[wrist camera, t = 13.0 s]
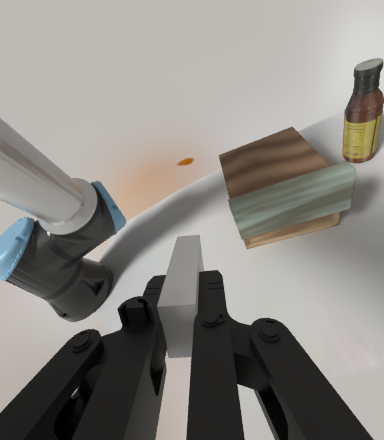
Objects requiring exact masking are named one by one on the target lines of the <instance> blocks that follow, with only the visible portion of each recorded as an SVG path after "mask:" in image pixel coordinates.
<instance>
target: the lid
mask: <svg viewBox="0 0 384 440" xmlns="http://www.w3.org/2000/svg"><path fill="white" fill-rule="evenodd" d="M219 159H220V162H221V166H222V170H223V174H224V178H225V182H226V186H227V190H228V194H229V198H230V199H229V200H228V201H229V205H230V209H231V212H232V214H233V217H234V220H235V222H236V225H237V227H238V230H239V233H240V235H241V238H242V239H244V238H248V237H252V236H255V235H259V234H262V233H266V232H270V231H273V230H277V229H280V228H284V227H288V226H291V225H295V224H298V223H302V222H305V221H309V220H313V219H316V218H320V217H323V216H327V215H331V214H334V213H338V212H341V211H345V210H348V209H350V207H351V201H352V194H353V187H354V180H355V174H356V169H355V168H354V167H353V166H352V165H351V164H350V163H349V162H347V161H344V162H341V163H338V164H335V165H332V166H330V165H329V164H328V163H327V162H326V161H325V160H324V159H323V158H322V157H321V156H320V155H319V154H318V153H317V152H316V151H315V150H314V149H313V148H312V147H311V146H310V145H309V144H308V143H307V142H306V140H305V139H304V138H303V137H302V136H301V135H300V134H299V133H298V132H297V131H296V130H295V129H294V128H293V127H290V128H288V129H286V130H283V131H280V132H278V133H275V134H272V135H270V136H268V137H265V138H262V139H260V140H257V141H254V142H252V143H249V144H247V145H244V146H241V147H239V148H237V149H234V150H231V151H229V152H226V153H223V154H221V155H219Z"/></svg>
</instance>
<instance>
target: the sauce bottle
mask: <svg viewBox="0 0 384 440" xmlns="http://www.w3.org/2000/svg"><path fill="white" fill-rule="evenodd" d="M382 68H383V59H380V58H376V59H371V60H367V61H364V62H362V63H360V64H358V65H357V66H356V67H355V69H354V77H355V81H354V89H353V94H352V96H351V98H350V101H349V103H348V105H347V107H346V109H345V116H344V134H343V157H344V159H345V160H346V161H348V162H353V163H360V162H364V161H367V160H370V159H371V158H372V157H373V156H374V153H375V150H376V148H377V142H378V136H379V130H380V124H381V119H382V113H383V110H382V109H383V103H384V97H383V94H382V92H381V91H380V89H379V88H378V87H379V78H380V72H381V70H382Z"/></svg>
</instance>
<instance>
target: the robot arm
mask: <svg viewBox="0 0 384 440" xmlns="http://www.w3.org/2000/svg"><path fill="white" fill-rule="evenodd" d="M0 200H1V201H4V202H6V203H8V204H10V205H12V206H14V207H16V208H19V209H21V210H23V211H25V212H27V213H29V214H31V215H33V216H36V217H38V220H37V221H34V219H32V218H29V217H24V218H23V219H20V220H18V221H17V222H15V223H14V224H13V225H12V226H10V227H9V228H8V229H7V230H6V231H5V232H4V233H3V234H2V235H1V237H0V278H1V280H3V281H7V282H9V283H12V284H13V285H15V286H17V287H19V288H21V289H24V290H26V291H28V292H30V293H32V294H34V295H36V296H38V297H40V298H42V299H44V300H46V301H47V302H48V303H49V304H50V306H51V307H52V308H53V309H54V310H55V312H56V313H57V314H58V315H59V316H60V317H61V318H63V319H65V320H67V321H70V322H77V321H80V320H83V319H85V318H87V317H88V316H89V315H91V314H92V313H93V312H95V311H96V310H97V309H98V308H99V306H100V305H101V304H102V303H103V301H104V300H105V298H106V297H107V295H108V293H109V291H110V288H111V285H112V273H111V270H110V269H109V268H108V267H106V266H105V265H104V264H102V263H100V262H96V261H93V260H89V259H86V258H83V256H85V255H86V254H87V253H89V252H90V251H92V250H93V249H94V248H96V247H97V246H99V245H100V244H101V243H103V242H104V241H106V240H107V239H108V238H110V237H111V236H113V235H115V234H117V232H118V231H119V230H120V229H122V228H123V227H124V226H125V224H126V219H125V217H124V216H123V214H122V213H121V211H120V210H119V208H118V207H117V205H116V204H115V202H114V201H113V199H112V198H111V196H110V195H109V193H108V192H107V190H106V189H105V188H104V186H103V185H102V183H101V182H99V181H96V182H92V183H91V184H90V183H88V182H87V181H85V180H83V179H78V178H70V177H69V176H68V175H67V174H66V173H64V172H63V171H62V170H61V169H60V168H59V167H57V166H56V165H55V164H54V163H53V162H52V161H50V160H49V159H48V158H47V157H46V156H44V155H43V154H42V153H41V152H40V151H39V150H37V149H36V148H35V147H34V146H33V145H31V144H30V143H29V142H28V141H26V140H25V139H24V138H23V137H22V136H21V135H20V134H18V133H17V132H16V131H15V130H14V129H13V128H11V127H10V126H9V125H8V124H7V123H6V122H4V121H3V120H2V119H1V118H0ZM118 313H119V316H120V319H121V322H122V328H121V330H119V331H116V332H114V333H111V334H108V335H105V336H102V337H101V335H100V333H99V331H97V330H95V329H88V330H85V331H82V332H80V333H78V334H76V335H74V337H72V338H71V339H70V340H69V341H68V342H67V343H66V344H65V345H64V346H63V347H62V348H61V349H60V350H59V351H58V352H57V353H56V354H55V355H54V356H53V358H52V359H51V360H50V361H49V362H48V363H47V364H46V365H45V366H44V367H43V368H42V369H41V370H40V372H38V374H37V375H36V376H35V377H34V378H33V379H32V380H31V381H30V382H29V383H28V384H27V385H26V386H25V388H23V389H22V390H21V392H20V393H19V394H18V395H17V396H16V397H15V398H14V399H13V400H12V401H11V402H10V403H9V404H8V405H7V406H6V407H5V409H4V410H3V411H2V412H1V413H0V440H155V438H156V431H157V425H158V419H159V413H160V407H161V400H162V395H163V388H164V383H165V376H166V363H165V356H166V350H167V353H168V357H169V358H179V357H192V359H191V376H190V391H189V406H188V423H187V439H186V440H245V439H244V432H243V424H242V417H241V409H240V401H239V394H238V386H237V384H239V385H242V386H245V387H248V388H251V389H254V392H255V394H256V396H257V399H258V401H259V403H260V406H261V408H262V410H263V413H264V415H265V417H266V419H267V422H268V424H269V427H270V429H271V431H272V433H273V436H274V438H275V440H373V438H372V437H371V436H370V435H369V433H368V432H367V431H366V429H365V428H364V427H363V426H362V424H361V423H360V422H359V420H358V419H357V418H356V416H355V415H354V414H353V413H352V411H351V410H350V409H349V407H348V406H347V405H346V404H345V402H344V401H343V400H342V398H341V397H340V396H339V394H338V393H337V392H336V391H335V389H334V388H333V387H332V385H331V384H330V383H329V381H328V380H327V379H326V378H325V376H324V375H323V374H322V372H321V371H320V370H319V368H318V367H317V366H316V365H315V363H314V362H313V361H312V359H311V358H310V357H309V355H308V354H307V353H306V352H305V350H304V349H303V348H302V346H301V345H300V344H299V342H298V341H297V340H296V339H295V337H294V336H293V335H292V333H291V332H290V331H289V330H288V328H287V327H286V326H285V325H284V324H283V323H281V322H279V321H277V320H275V319H271V318H260V319H258V320H256V321H254V322H253V323H252V325H246V324H242V323H239V322H237V321H235V320H233V319H232V318H231V317H230V316H229V314H228V312H227V307H226V300H225V292H224V285H223V278H222V275H221V273H220V272H219V271H218V270H214V271H204V267H203V259H202V251H201V244H200V236H199V235H193V236H183V237H177V240H176V243H175V247H174V250H173V254H172V257H171V260H170V264H169V267H168V271H167V274H166V275H161V276H154V277H153V278H152V279H151V280H150V281H149V282H148V284H147V286H146V288H145V291H144V293H143V296H138V297H133V298H131V299H128V300H126V301H125V302H124V303H122V304H121V305H120V306H119V308H118ZM76 389H77V391H76V393H75V394H74V395H73V396H71V395H72V394H73V393H74V391H75V390H76Z"/></svg>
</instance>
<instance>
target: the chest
mask: <svg viewBox="0 0 384 440" xmlns="http://www.w3.org/2000/svg"><path fill="white" fill-rule="evenodd" d="M339 217H340V212H338V213H334V214H331V215H327V216H323V217H320V218H316V219H313V220H309V221H305V222H302V223H298V224H295V225H291V226H288V227H284V228H280V229H277V230H273V231H270V232H266V233H262V234H259V235H255V236H252V237H248V238H244V239H243V240H244V242H245V245H246V248H247V249H249V248H253V247H257V246H261V245H264V244H268V243H272V242H276V241H279V240H283V239H287V238H291V237H294V236H298V235H302V234H306V233H309V232H313V231H317V230H321V229H325V228H328V227H332V226H336V225H339Z"/></svg>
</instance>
